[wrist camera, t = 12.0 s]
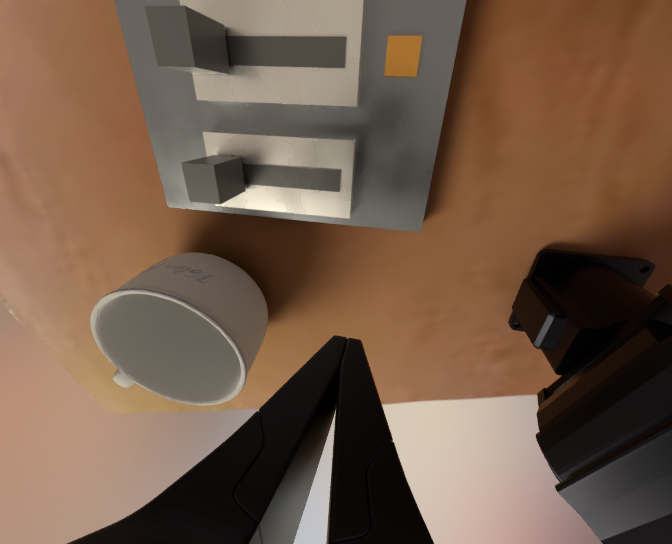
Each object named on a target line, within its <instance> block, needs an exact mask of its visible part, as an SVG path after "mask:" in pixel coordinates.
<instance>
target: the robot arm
mask: <svg viewBox="0 0 672 544" xmlns="http://www.w3.org/2000/svg"><path fill="white" fill-rule="evenodd" d="M547 255H549V257H548V258H547V259H545V260H543V258H544V257H545V256H547ZM643 266H645V267H644V268H643V269H641V270H639V269H640V268H641V267H643ZM654 268H655V266H654V264H653V263H651V262H650V261H648V260H645V259H637V258H627V257H618V256H608V255H598V254H588V253H579V252H569V251H559V250H550V249H545V250H542V251H540V252H539V253H538V254H537V255H536V258H535V260H534V262H533V265H532V267H531V269H530V272H529V274H528V277H527V278H525V279H524V280H523V282H522V284H521V287H520V289H519V292H518V294H517V296H516V299H515V301H514V303H513V306H512V309H513V312H512V314H511V316H510V319H509V321H508V323H509V325H510V327H511V328H512V329H513V330H517V331H524V332H526V334H527V336H528V337H529V339H530V341H531V343H532V344H533V346H534V347H535V348H536V349H541V350H542V352H543V353H544V355H545V357H546V358H547V360H548V362H549V363H550V365H551V367H552V368H553V370H554V372H555V373H556V374H557V375H561V377H560V378H559V379H558V380H556V381H555V382H554V383H553V384H552V385H550V386H549V387H548V388H547V389H546V388H543V389H542V390H541V391H540V392H539V393H538V394H537V396H538V405H539V409H538V412H537V419H538V426H539V431H540V432H538V433H537V434H536V439H537V442H538V444H539V447H540V449H541V451H542V453H543V455H544V457H545V459H546V460H547V462H548V464H549V466H550V468H551V470H552V471H553V473H554V475H555V476H556V478H557V479H558V480H559V482H560V483H559V484H557V485H556V486H555V488H556V490H557V492H558V493H559V494H560V495H561V496H562V497H563V498H564V499H565V500H566V501H567V502H568V503H569V504H570V505H571V506H572V507H573V508H574V509H575V510H576V511H577V513H578V514H579V515H580V516H581V517H582V518H583V519H584V520H585V522H586V523H587V524H588V526H589V527H590V528H591V529H592V531H594V533H595V534H596V535H597V537H598V538H599V539H600V540H601V542H602V543H603V544H672V285H671V284H667V285H666V286H665V287H664V288H663V289H661V290H660V291H659V292H658V293H659V294H660V295H659V296H657V297H655V296H653V295H652V294H651V293H649V292H648V291H647V290H645V289H644V288H642V287H643V285H644V284H645V282H646V281H647V280H648V278H649V277H650V275H651V274H652V272H653V271H654ZM517 322H519V323H518V324H515V323H517ZM335 410H336V416H335V430H334V445H333V458H332V473H331V486H330V502H329V515H328V529H327V543H326V544H434V542H433V540H432V538H431V536H430V533H429V531H428V529H427V527H426V524H425V522H424V520H423V518H422V515H421V513H420V511H419V509H418V506H417V504H416V501H415V499H414V497H413V494H412V492H411V489H410V487H409V485H408V482H407V480H406V477H405V474H404V471H403V468H402V465H401V463H400V460H399V457H398V454H397V451H396V448H395V444H394V442H392V441H393V439H392V435H391V432H390V429H389V426H388V423H387V420H386V417H385V414H384V410H383V408H382V404H381V401H380V398H379V395H378V392H377V388H376V385H375V382H374V379H373V376H372V373H371V370H370V367H369V363H368V360H367V357H366V354H365V351H364V348H363V345H362V342H361V340H359V339H353V338H348V339H347V338H346V337H342V336H336V335H335V336H333V337H332V338H331V339H330V340H329V341H328V342H327V343H326V344H325V345H324V346H323V347H322V348H321V349H320V350H319V351H318V352H317V353H316V354H315V355H314V356H313V357H312V358H311V359H310V360H309V361H308V362H307V363H306V364H305V365H304V366H303V367H301V368H300V369H299V370H298V371H297V372H296V373H295V374H294V375H293V376H292V377H291V378H290V379H289V380H288V381H287V382H286V383H285V384H284V385H283V386H282V387H281V388H280V389H279V390H278V391H277V392H276V393H275V394H274V395H273V396H272V397H271V398H270V399H269V400H268V401H267V402H266V403H265V404H264V405H263V406H262V407H261V408H260V409H259V411H257V412H256V413H255V414H254V415H253V416H252V417H251V418H250V419H248V421H247V422H246V423H244V424H243V425H242V426H241V427H240V428H239V429H238V430H237V431H236V432H235V433H234V434H233V435H231V436H230V437H229V438H228V439H227V440H226V441H225V442H223V443H222V444H221V445H220V446H219V447H218V448H216V449H215V450H214V451H213V452H211V453H210V454H209V455H208V456H207V457H205V458H204V459H203V460H202V461H200V462H199V463H198V464H197V465H195V466H194V467H193V468H192V469H191V470H189V471H188V472H187V473H186V474H184V475H183V476H182V477H180V478H179V479H178V480H177V481H175V482H174V483H173V484H172V485H170V486H169V487H168V488H167V489H166V490H164V491H163V492H162V493H161V494H159V495H158V496H157V497H156V498H154V499H153V500H152V501H150V502H149V503H148V504H146V505H145V506H143V507H142V508H140V509H139V510H137V511H136V512H134V513H132V514H131V515H129V516H127V517H125V518H124V519H122V520H120V521H118V522H116V523H114V524H111V525H109V526H107V527H105V528H102V529H100V530H98V531H95V532H93V533H91V534H88V535H86V536H84V537H82V538H79V539H77V540H74V541H72V542H70V543H68V544H293V542H294V539H295V536H296V533H297V529H298V527H299V524H300V521H301V517H302V514H303V511H304V508H305V505H306V502H307V499H308V496H309V492H310V489H311V486H312V483H313V480H314V477H315V474H316V471H317V468H318V464H319V461H320V458H321V455H322V452H323V449H324V445H325V442H326V439H327V436H328V433H329V430H330V427H331V424H332V421H333V417H334V414H335Z"/></svg>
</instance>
